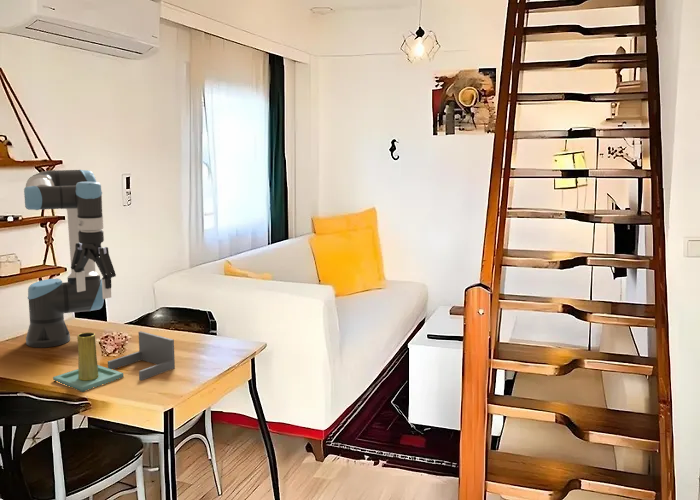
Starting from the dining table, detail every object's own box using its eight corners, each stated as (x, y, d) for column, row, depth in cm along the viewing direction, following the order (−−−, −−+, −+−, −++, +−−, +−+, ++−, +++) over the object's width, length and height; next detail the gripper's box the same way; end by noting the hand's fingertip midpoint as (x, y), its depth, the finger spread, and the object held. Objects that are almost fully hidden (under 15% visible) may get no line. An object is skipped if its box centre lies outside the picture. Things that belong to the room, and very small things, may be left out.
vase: (83, 373, 213) (80, 331, 210) (101, 374, 212) (99, 332, 210) (75, 380, 207) (72, 337, 204) (94, 381, 206) (91, 337, 204)
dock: (108, 370, 218) (106, 341, 217) (141, 358, 230) (140, 331, 228) (141, 380, 209) (140, 350, 208) (174, 368, 221) (173, 339, 219)
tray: (53, 381, 207) (53, 377, 207) (94, 368, 220) (94, 363, 220) (82, 391, 199) (82, 387, 199) (123, 377, 212) (123, 373, 212)
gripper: (57, 227, 213) (60, 290, 217) (105, 236, 199) (108, 303, 203) (77, 224, 219) (81, 286, 223) (125, 233, 206) (128, 298, 210)
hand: (94, 294), depth 213 cm, fingers open, 13 cm apart
